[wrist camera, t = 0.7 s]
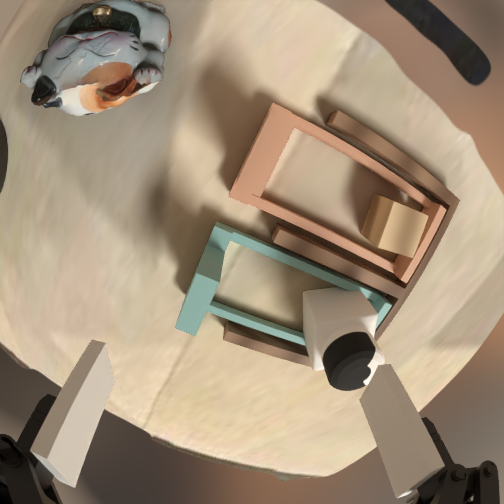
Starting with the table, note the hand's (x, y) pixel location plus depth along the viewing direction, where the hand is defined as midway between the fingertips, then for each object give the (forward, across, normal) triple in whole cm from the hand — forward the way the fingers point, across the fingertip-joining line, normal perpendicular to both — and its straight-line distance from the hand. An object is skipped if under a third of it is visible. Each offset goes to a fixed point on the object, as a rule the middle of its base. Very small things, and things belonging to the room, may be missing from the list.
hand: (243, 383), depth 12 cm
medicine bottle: (+21, +12, -8) cm, 25 cm away
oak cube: (+21, +16, +5) cm, 27 cm away
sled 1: (+20, +11, +7) cm, 24 cm away
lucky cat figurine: (+21, -16, +20) cm, 33 cm away
